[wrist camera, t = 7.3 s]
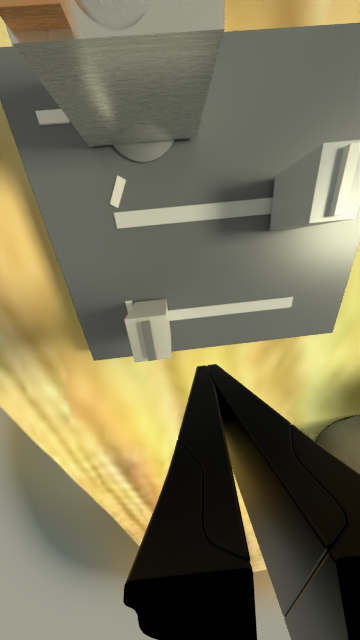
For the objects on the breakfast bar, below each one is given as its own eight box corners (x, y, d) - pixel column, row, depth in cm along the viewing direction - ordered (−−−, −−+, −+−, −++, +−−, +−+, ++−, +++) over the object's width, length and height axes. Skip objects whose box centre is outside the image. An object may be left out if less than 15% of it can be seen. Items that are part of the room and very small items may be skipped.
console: (379, 59, 10) (430, 13, 8) (314, 323, 17) (334, 333, 15) (17, 86, 10) (-23, 43, 8) (101, 348, 17) (92, 362, 15)
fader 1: (166, 298, 13) (165, 316, 9) (170, 333, 14) (171, 360, 11) (135, 302, 13) (123, 321, 9) (142, 336, 14) (133, 365, 10)
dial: (193, 62, 8) (233, -233, 3) (196, 137, 9) (230, 5, 4) (72, 70, 8) (-85, -224, 3) (89, 146, 9) (-6, 20, 4)
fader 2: (312, 173, 10) (386, 133, 7) (303, 227, 12) (361, 217, 8) (275, 176, 10) (329, 138, 7) (269, 230, 12) (314, 222, 8)
